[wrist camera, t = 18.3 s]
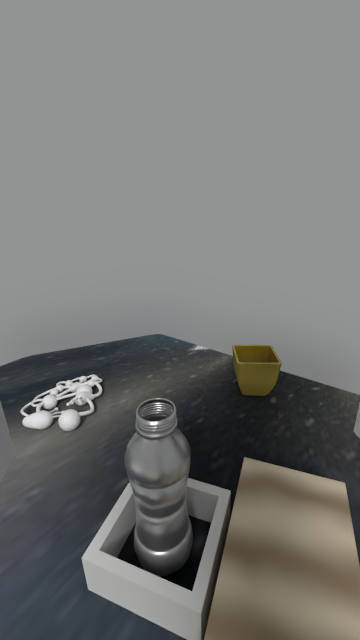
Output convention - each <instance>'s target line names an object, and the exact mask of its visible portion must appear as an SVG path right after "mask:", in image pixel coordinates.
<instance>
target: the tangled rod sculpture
mask: <svg viewBox="0 0 360 640" xmlns="http://www.w3.org/2000/svg"><path fill="white" fill-rule="evenodd" d="M89 377H91V380H89V381H87V378H89ZM78 379H79V380H80V382H75V383H73V381H75V380H78ZM98 380H100V381H98ZM86 381H87V382H86ZM100 382H102V379H100V378H98V376H96V375H90V376H87V377H85V376H81V377H79V378H76V379H73V380H68V381H66V382H65V381H62V382H59V383H57V384H56V385H57V387H56V388H53V389H51V390H49V391H47V392H44V393H42V394H40V395H38V396H37V397H35V398H34V400H33V401H32V402H30V403H29V404H27V405H26V406H24V407H23V408H22V409H21V411H20V412H21V414H22V415H24V416H26V417H25V418H24V419H23V425H24V426H26V427H29V428H35V429H45V428H47V427H49V426H50V425H51V424H52V422H53V418H55V417H59V426H60V427H61V428H62V429H63V430H65V431H72V430H74V429H76V428H77V427H78V425H79V423H80V416H84V415H88V414H91V413H93V412H94V405H93V403H92V401H91V400H93V399H94V398H95V397H98V396H100V395H101V394H102V387H101V385H100V384H99V383H100ZM61 383H65V385H66V386H63V385H59V384H61ZM87 384H88V385H87ZM94 385H96V386H97V387H98V389H99V392H98V393H97V394H92V388H91V387H93V386H94ZM66 388H69V389H67V390H66V391H64V392H62V391H63V390H64V389H66ZM69 391H70V392H75V393H71V394H68V395H64V394H66V393H68V392H69ZM49 392H50V394H49V395H46V396H45V397H44V398H43V399H37V398H39V397H41V396H43V395H45V394H47V393H49ZM58 392H62V393H60V394H58ZM62 395H64V396H62ZM74 395H76V396H75V398H73V399H72V400H71V401H70V402H68V403H67V404H66V405H67V406H69V405H70V404H73V403H74V401H75V403H76V404H77V405H80V406H81V405H84V404H86V403H87V402H88V403H89V405H90V408H91V410H89V411H85V412H77V411H76V410H72V409H69V410H66V411H62V412H55V413H52V412H54V411H58V408H57V407H56V408H55V409H54V410H52V411H50V412H48V411H44V410H43V411H40V408H41V406H43V407H44V408H45V409H52V408H54V407H55V406H56V405H57V402H58V401H57V400H61V399H64V398H67V397H71V396H74ZM60 396H61V397H60ZM38 401H42V402H41V403H39V404H34V403H35V402H38ZM29 405H32V406H33V407H36V413H33V414H31V415H28V414H26V413H24V412H23V410H24V409H25V408H27V407H28V406H29ZM55 414H61V415H55ZM53 415H55V416H53Z"/></svg>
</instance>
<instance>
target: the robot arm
mask: <svg viewBox="0 0 360 640" xmlns="http://www.w3.org/2000/svg"><path fill="white" fill-rule="evenodd" d="M354 432H355V433H356V435H357V436H358V437H359V438H360V404H359V409H358V413H357V418H356V423H355V427H354ZM15 457H16V456H15V452H14V448H13V445H12V441H11V438H10V434H9V431H8V427H7V423H6V420H5V416H4V413H3V409H2V405H1V402H0V482H1V480H2V478H3V477H4V475H5V473H6V472H7V470H8V468H9V467H10V465H11V463H12V462H13V460H14V458H15Z"/></svg>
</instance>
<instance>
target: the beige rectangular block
mask: <svg viewBox="0 0 360 640" xmlns="http://www.w3.org/2000/svg"><path fill="white" fill-rule="evenodd" d="M204 640H360V567H359V561H358V555H357V549H356V544H355V538H354V532H353V526H352V520H351V515H350V509H349V503H348V497H347V491H346V486H345V483H343V482H339V481H335V480H331V479H327V478H324V477H320V476H316V475H312V474H308V473H304V472H300V471H296V470H292V469H289V468H285V467H281V466H277V465H273V464H269V463H265V462H261V461H258V460H254V459H250V458H246V457H244V461H243V465H242V470H241V474H240V479H239V483H238V488H237V492H236V497H235V501H234V506H233V510H232V515H231V519H230V524H229V528H228V533H227V538H226V542H225V547H224V551H223V556H222V560H221V565H220V569H219V574H218V578H217V583H216V587H215V592H214V596H213V601H212V605H211V610H210V614H209V619H208V623H207V628H206V632H205V637H204Z"/></svg>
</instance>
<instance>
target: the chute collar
mask: <svg viewBox="0 0 360 640" xmlns="http://www.w3.org/2000/svg"><path fill="white" fill-rule="evenodd" d="M186 494H187V495H186V503H187V510H188V515H190V516H193V517H195V518H198V519H201V520H204V521H207V522H210V523H211V526H210V530H209V533H208V537H207V540H206V544H205V548H204V551H203V555H202V558H201V562H200V565H199V569H198V572H197V576H196V580H195V583H194V587H193V590H192V591H190V590H188V589H185V588H183V587H181V586H179V585H176V584H174V583H172V582H170V581H167V580H165V579H163V578H161V577H158V576H156V575H154V574H152V573H149V572H147V571H145V570H142V569H140V568H138V567H136V566H133V565H131V564H129V563H127V562H124V561H122V560H120V559H118V558H117V557H118V555H119V553H120V551H121V549H122V547H123V546H124V544H125V542H126V540H127V538H128V536H129V534H130V532H131V530H132V528H133V526H134V525H135V523H136V506H135V500H134V495H133V491H132V487H131V484H130V482H129V483H128V485H127V486H126V488H125V490H124V491H123V493H122V494H121V496H120V498H119V499H118V501H117V502H116V504H115V506H114V507H113V509H112V510H111V512H110V514H109V515H108V517H107V518H106V520H105V522H104V523H103V525H102V526H101V528H100V529H99V531H98V533H97V534H96V536H95V537H94V539H93V541H92V542H91V544H90V545H89V547H88V549H87V550H86V552H85V553H84V555H83V557H82V562H83V567H84V572H85V576H86V581H87V586H88V590H90V591H92V592H94V593H96V594H98V595H100V596H102V597H104V598H106V599H108V600H110V601H112V602H114V603H116V604H118V605H120V606H122V607H124V608H126V609H128V610H130V611H132V612H134V613H136V614H138V615H140V616H142V617H143V618H145V619H147V620H149V621H151V622H153V623H155V624H157V625H159V626H161V627H163V628H165V629H167V630H169V631H171V632H173V633H175V634H177V635H179V636H181V637H183V638H185V639H187V640H203V636H204V632H205V627H206V623H207V619H208V614H209V610H210V605H211V601H212V596H213V592H214V587H215V583H216V578H217V574H218V569H219V565H220V561H221V556H222V552H223V547H224V543H225V538H226V534H227V529H228V525H229V520H230V500H231V491H230V490H227V489H223V488H220V487H217V486H213V485H210V484H207V483H203V482H200V481H197V480H194V479H190V478H188V480H187V493H186Z"/></svg>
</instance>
